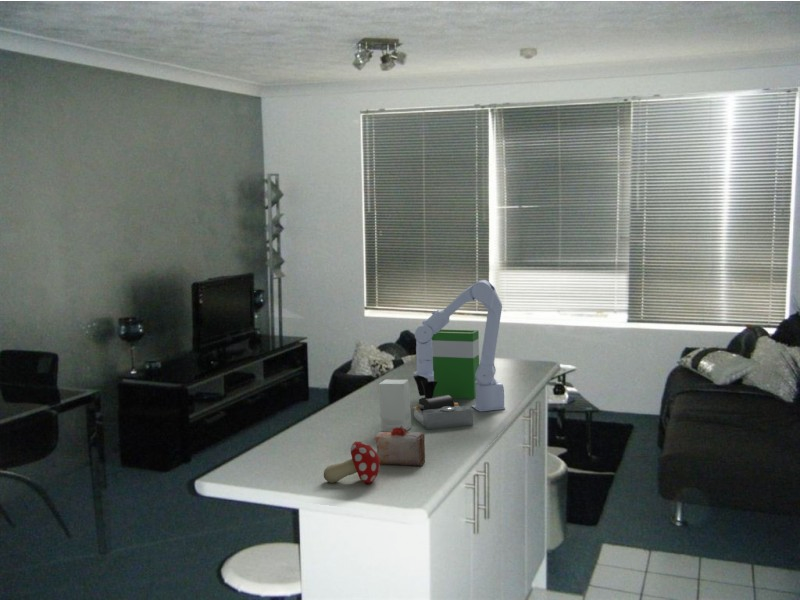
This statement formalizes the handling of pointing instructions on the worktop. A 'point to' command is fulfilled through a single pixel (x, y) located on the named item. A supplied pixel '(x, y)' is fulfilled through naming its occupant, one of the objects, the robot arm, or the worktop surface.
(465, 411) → the motor housing with clip cradle
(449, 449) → the worktop surface
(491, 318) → the robot arm
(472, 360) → the green box
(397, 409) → the skincare box
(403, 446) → the food item
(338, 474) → the decorative mushroom
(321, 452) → the worktop surface
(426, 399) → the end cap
